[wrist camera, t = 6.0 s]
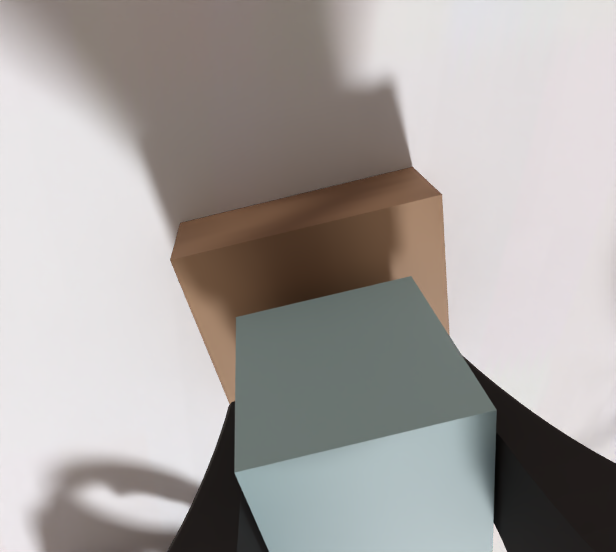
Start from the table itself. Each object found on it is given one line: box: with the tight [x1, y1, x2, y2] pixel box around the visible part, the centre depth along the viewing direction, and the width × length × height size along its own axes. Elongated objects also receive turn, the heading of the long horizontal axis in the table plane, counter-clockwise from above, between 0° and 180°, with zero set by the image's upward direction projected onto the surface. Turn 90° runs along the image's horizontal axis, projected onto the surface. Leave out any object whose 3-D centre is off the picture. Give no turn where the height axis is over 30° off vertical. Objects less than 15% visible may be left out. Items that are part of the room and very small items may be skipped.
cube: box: [234, 276, 497, 552], centre depth 12 cm, size 5×5×5 cm
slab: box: [170, 167, 449, 404], centre depth 17 cm, size 8×8×3 cm
